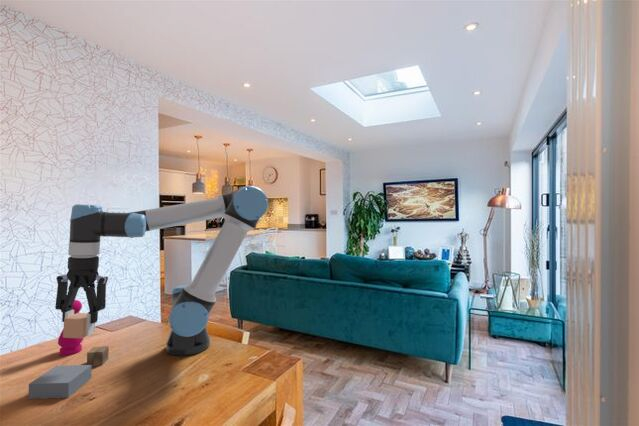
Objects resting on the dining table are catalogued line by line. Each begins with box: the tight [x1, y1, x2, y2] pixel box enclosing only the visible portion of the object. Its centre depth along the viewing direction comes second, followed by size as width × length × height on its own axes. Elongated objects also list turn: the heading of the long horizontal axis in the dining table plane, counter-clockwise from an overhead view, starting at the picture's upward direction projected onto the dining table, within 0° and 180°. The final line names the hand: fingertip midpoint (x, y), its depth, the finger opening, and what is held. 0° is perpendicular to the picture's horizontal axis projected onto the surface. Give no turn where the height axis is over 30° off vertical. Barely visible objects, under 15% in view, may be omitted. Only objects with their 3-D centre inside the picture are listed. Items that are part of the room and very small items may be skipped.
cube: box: [62, 312, 96, 339], centre depth 95 cm, size 6×6×6 cm
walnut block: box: [86, 345, 109, 367], centre depth 106 cm, size 4×4×4 cm
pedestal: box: [28, 364, 93, 400], centre depth 91 cm, size 10×10×4 cm
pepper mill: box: [57, 299, 84, 356], centre depth 113 cm, size 7×7×20 cm
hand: (79, 333), depth 95 cm, fingers closed on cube, 5 cm apart
